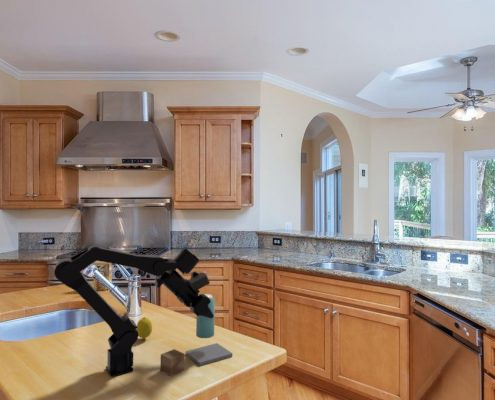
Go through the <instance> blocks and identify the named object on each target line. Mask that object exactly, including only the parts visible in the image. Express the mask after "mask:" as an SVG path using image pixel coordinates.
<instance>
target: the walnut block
mask: <svg viewBox="0 0 495 400" xmlns="http://www.w3.org/2000/svg"><path fill="white" fill-rule="evenodd" d="M185 355H186V354H185V352H183V351H180V350H178V349H175V348H173V349H170V350H168V351H165V352H163V353H160V372H162V373H164V374H166V375H167V376H169V377H172V376H175V375H177V374H179V373H181V372H184V371H185V361H186V360H185V357H186V356H185Z"/></svg>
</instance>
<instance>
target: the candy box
mask: <svg viewBox="0 0 495 400" xmlns="http://www.w3.org/2000/svg"><path fill="white" fill-rule="evenodd" d="M112 264H113V263H108V262H102V261H95V262H93V266H94V265H96V266H97V268H98V271H99V272H100V273H101V274H102V275H103V276H104V277H105V278H106V279H107V280H109V281H110V282H111V283H112V282H113V281H112V276H113V275H112V274H113V273H112V268H113V267H112ZM93 288H94V289H95V290H96V291H102V290H103V291H104V290H106V291H108V290H107V289H106V287H105V286H103V285H102V284H101V283H100V282H99V281H98V280H96V278H94V277H93Z"/></svg>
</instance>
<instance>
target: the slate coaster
mask: <svg viewBox="0 0 495 400" xmlns="http://www.w3.org/2000/svg"><path fill="white" fill-rule="evenodd" d="M184 354H185V355H186V356H187V357H188V358H189V359H191V360H192V361H193V362H194V363H195V364H196V365H197V366H203V365H204V366H205V365H208V364H211V363H214V362H217V361H221V360H225V359H228V358H232V357H233V353H232V352H231V351H229V350H228V349H226V347H224V346H222V345H221V344H219V343H217V342H216V343H213V344H208V345H204V346H200V347H198V348H192V349H189V350H185V352H184Z"/></svg>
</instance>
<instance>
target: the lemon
mask: <svg viewBox="0 0 495 400" xmlns="http://www.w3.org/2000/svg"><path fill="white" fill-rule="evenodd" d="M136 326H137V327H138V328H137V329H136V330H137V331H138V338H141V339H143V340H146V338H148V337H149V336H150V335H151V334H152V331H153V324H152V321H151V320H150V319H149V318H147V317H145V316H143V317H142V318H141V319H139V320H138V321H137V324H136Z"/></svg>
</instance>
